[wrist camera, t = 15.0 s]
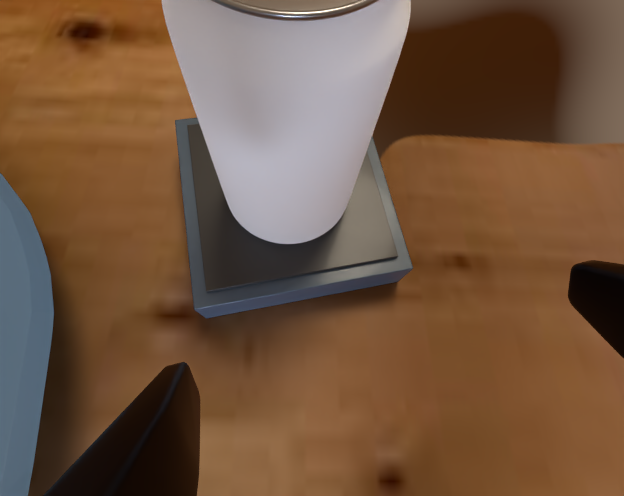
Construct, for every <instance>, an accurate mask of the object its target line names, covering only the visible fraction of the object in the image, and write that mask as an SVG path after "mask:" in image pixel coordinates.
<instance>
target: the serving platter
mask: <svg viewBox="0 0 624 496" xmlns="http://www.w3.org/2000/svg"><path fill="white" fill-rule="evenodd" d="M53 320H54V307H53V295H52V284H51V273H50V269H49V265H48V261H47V257H46V254H45V251H44V248H43V244H42V241H41V239H40V236H39V234H38V231H37V229H36V227H35V224H34V222H33V219H32V217H31V214H30V212H29V210H28V209H27V208H26V206H25V205H24V204H23V202H22V201H21V200H20V198H19V197H18V196H17V194H16V193H15V192H14V190H13V189H12V188H11V186H10V185H9V184H8V182H7V181H6V180H5V178H4V177H3V175H2V174H1V173H0V496H28V492H29V486H30V481H31V475H32V470H33V464H34V458H35V451H36V445H37V438H38V431H39V424H40V417H41V411H42V404H43V397H44V390H45V383H46V376H47V369H48V362H49V355H50V348H51V341H52V332H53Z"/></svg>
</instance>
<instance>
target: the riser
mask: <svg viewBox="0 0 624 496" xmlns="http://www.w3.org/2000/svg"><path fill="white" fill-rule="evenodd" d="M175 125H176V135H177V145H178V155H179V165H180V175H181V184H182V194H183V204H184V214H185V224H186V234H187V244H188V254H189V264H190V274H191V284H192V294H193V303H194V310H196V311H197V312H198V313H200V314H201V315H202V316H204V317H205V318H211V317H216V316H222V315H227V314H232V313H237V312H243V311H248V310H253V309H258V308H263V307H269V306H274V305H279V304H284V303H289V302H295V301H300V300H305V299H310V298H316V297H321V296H326V295H331V294H336V293H342V292H347V291H352V290H357V289H363V288H368V287H373V286H378V285H383V284H389V283H394V282H398V281H399V280H400V279H402V278H403V277H404V276H405V275H406V274H407V273H409V272H410V271H411V270H412V269H413V266H412V263H411V260H410V256H409V253H408V250H407V247H406V243H405V240H404V237H403V234H402V231H401V227H400V224H399V221H398V218H397V214H396V211H395V208H394V205H393V201H392V198H391V195H390V192H389V188H388V185H387V182H386V179H385V175H384V172H383V169H382V166H381V163H380V159H379V156H378V153H377V150H376V147H375V143H374V140H373V137H371V140H370V143H369V146H368V149H367V151H366V154H365V157H364V160H363V163H362V166H361V168H360V171H359V174H358V177H357V180H356V183H355V185H354V188H353V191H352V194H351V196H350V199H349V202H348V204H347V207H346V209H345V211H344V213H343V215H342V216H341V218H340V219H339V221H338V222H337V223H336V224H335V225H334V226H333V227H332V228H331V229H330V230H329V231H327V232H326V233H324V234H323V235H321V236H319V237H317V238H315V239H313V240H310V241H307V242H303V243H297V244H279V243H274V242H269V241H266V240H263V239H261V238H259V237H257V236H255V235H253V234H251V233H250V232H249V231H247V230H246V229H245V228H244V227H242V226H241V225H240V224H239V222H238V221H237V220H236V219H235V217H234V216H233V214H232V212H231V210H230V208H229V206H228V203H227V201H226V198H225V195H224V193H223V190H222V187H221V184H220V181H219V178H218V176H217V173H216V170H215V167H214V164H213V161H212V158H211V156H210V153H209V150H208V147H207V144H206V141H205V138H204V135H203V133H202V130H201V127H200V124H199V121H198V118H190V119H182V120H175Z"/></svg>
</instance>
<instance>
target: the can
mask: <svg viewBox="0 0 624 496" xmlns="http://www.w3.org/2000/svg"><path fill="white" fill-rule="evenodd" d="M162 7H163V12H164V17H165V21H166V25H167V28H168V31H169V35H170V38H171V41H172V44H173V48H174V51H175V53H176V56H177V59H178V62H179V65H180V68H181V71H182V74H183V77H184V80H185V83H186V86H187V89H188V92H189V95H190V98H191V101H192V104H193V107H194V109H195V112H196V115H197V118H198V121H199V124H200V127H201V130H202V133H203V135H204V138H205V141H206V144H207V147H208V150H209V153H210V156H211V158H212V161H213V164H214V167H215V170H216V173H217V176H218V178H219V181H220V184H221V187H222V190H223V193H224V195H225V198H226V201H227V203H228V206H229V208H230V210H231V212H232V214H233V216H234V217H235V219H236V220H237V221H238V222H239V224H240V225H241V226H242V227H244V228H245V229H246V230H247V231H249V232H250V233H251V234H253V235H255V236H257V237H259V238H261V239H263V240H266V241H269V242H274V243H279V244H297V243H303V242H307V241H310V240H313V239H315V238H317V237H319V236H321V235H323V234H324V233H326V232H327V231H329V230H330V229H331V228H332V227H333V226H334V225H335V224H336V223H337V222H338V221H339V219H340V218H341V216H342V215H343V213H344V211H345V209H346V207H347V204H348V202H349V199H350V196H351V194H352V191H353V188H354V185H355V183H356V180H357V177H358V174H359V171H360V168H361V166H362V163H363V160H364V157H365V154H366V151H367V149H368V146H369V143H370V140H371V137H372V134H373V131H374V129H375V126H376V123H377V120H378V117H379V114H380V111H381V108H382V106H383V103H384V100H385V97H386V94H387V91H388V88H389V85H390V82H391V79H392V77H393V74H394V71H395V68H396V65H397V62H398V59H399V56H400V53H401V50H402V46H403V43H404V40H405V37H406V33H407V29H408V24H409V20H410V11H411V0H162Z"/></svg>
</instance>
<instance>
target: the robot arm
mask: <svg viewBox="0 0 624 496" xmlns="http://www.w3.org/2000/svg"><path fill="white" fill-rule="evenodd" d="M568 298H569V301H570V303H571V304H572V306H573V307H574V308H575V309H576V310H577V311H578V312H579V313H580V314H581V315H582V316H583V317H584V318H585V319H586V320H587V321H588V322H589V323H590V324H591V326H592V327H593V328H594V329H595V330H596V331H597V332H598V333H599V334H600V335H601V336H602V337H603V338H604V339H605V340H606V341H607V342H608V343H609V344H610V345H611V346H612V347H613V348H614V349H615V350H616V351H617V352H618V353H619V354H620V355H621V356H622V357H623V358H624V264H617V263H609V262H602V261H595V260H591V261H586V262H582V263H578V264H575V265H574V266H573V267H572V269H571V273H570V281H569V290H568ZM199 458H200V395H199V391H198V388H197V386H196V383H195V381H194V378H193V375H192V373H191V370H190V368H189V366H188V365H187V363H185V362H181V363H177V364H173V365H169V366H167V367H165V368H164V369H163V370H162V371H161V372H160V373H159V374H158V375H157V376H156V377H155V378H154V379H153V381H152V382H151V383H150V384H149V385H148V386H147V387H146V388H145V389H144V390H143V391H142V392H141V393H140V394H139V395H138V396H137V397H136V398H135V400H134V401H133V402H132V403H131V404H130V405H129V406H128V407H127V408H126V409H125V410H124V411H123V412H122V413H121V414H120V415H119V416H118V417H117V418H116V420H115V421H114V422H113V423H112V424H111V425H110V426H109V427H108V428H107V429H106V430H105V431H104V432H103V433H102V434H101V435H100V436H99V437H98V439H97V440H96V441H95V442H94V443H93V444H92V445H91V446H90V447H89V448H88V449H87V450H86V451H85V452H84V453H83V454H82V455H81V456H80V457H79V459H78V460H77V461H76V462H75V463H74V464H73V465H72V466H71V467H70V468H69V469H68V470H67V471H66V472H65V473H64V474H63V475H62V476H61V477H60V479H59V480H58V481H57V482H56V483H55V484H54V485H53V486H52V487H51V488H50V489H49V490H48V491H47V492H46V493H45V494H44V495H43V496H197V488H198V478H199Z"/></svg>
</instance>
